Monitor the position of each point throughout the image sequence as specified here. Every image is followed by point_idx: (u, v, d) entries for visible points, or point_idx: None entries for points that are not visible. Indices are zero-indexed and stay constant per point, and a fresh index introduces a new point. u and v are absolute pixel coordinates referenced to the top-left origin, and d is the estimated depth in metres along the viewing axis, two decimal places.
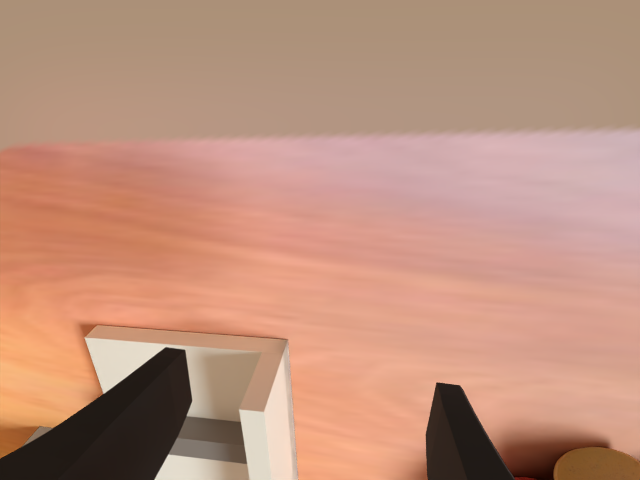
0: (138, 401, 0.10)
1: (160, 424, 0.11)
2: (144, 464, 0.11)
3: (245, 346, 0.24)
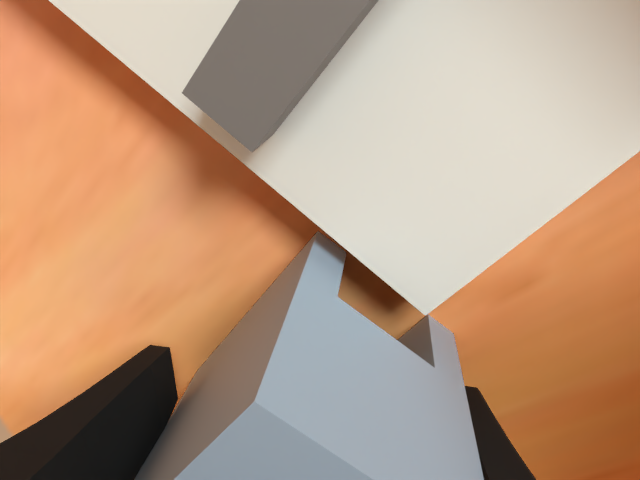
0: (119, 398, 0.10)
1: (143, 421, 0.11)
2: (126, 461, 0.11)
3: None
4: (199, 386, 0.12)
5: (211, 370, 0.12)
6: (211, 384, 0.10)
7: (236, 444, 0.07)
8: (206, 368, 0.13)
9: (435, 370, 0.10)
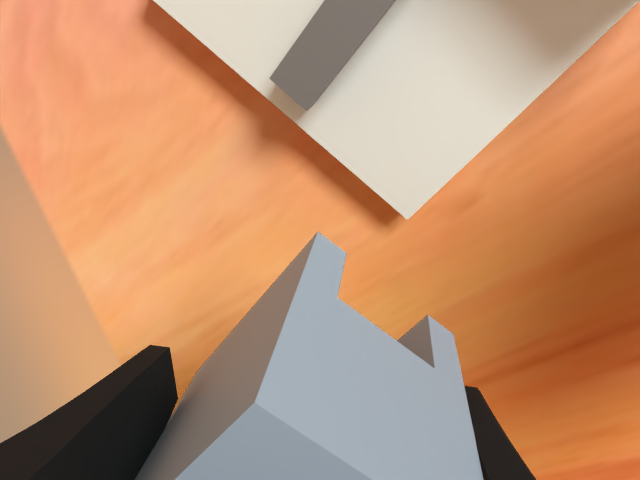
0: (119, 398, 0.10)
1: (143, 421, 0.11)
2: (126, 461, 0.11)
3: None
4: (199, 387, 0.12)
5: (211, 371, 0.12)
6: (211, 385, 0.10)
7: (236, 445, 0.07)
8: (206, 369, 0.13)
9: (435, 370, 0.10)
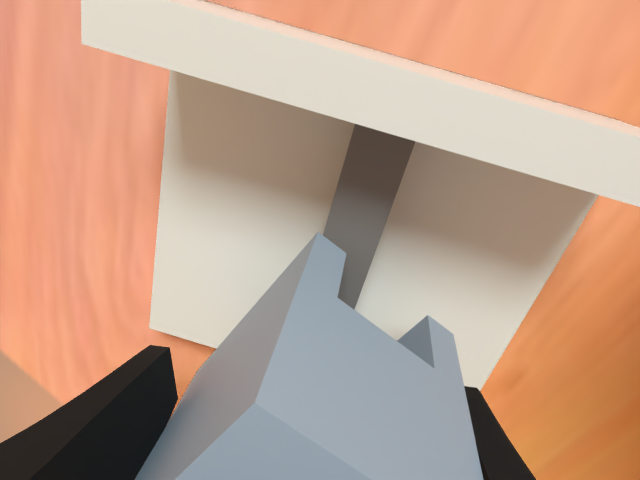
0: (119, 398, 0.10)
1: (143, 421, 0.11)
2: (126, 461, 0.11)
3: None
4: (199, 387, 0.12)
5: (211, 371, 0.12)
6: (211, 385, 0.10)
7: (236, 445, 0.07)
8: (206, 369, 0.13)
9: (435, 370, 0.10)
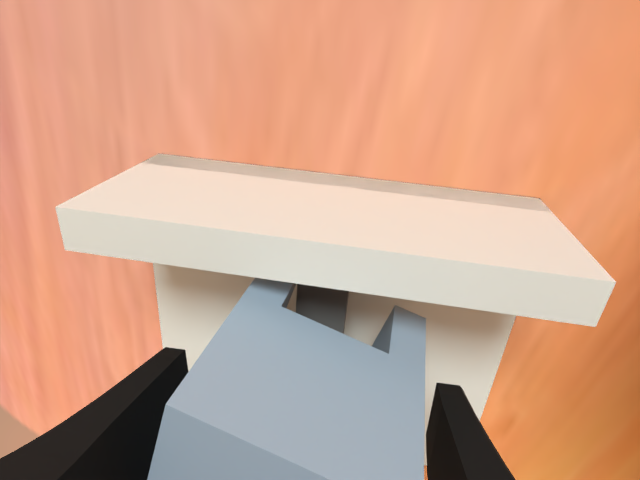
0: (138, 401, 0.10)
1: (160, 424, 0.11)
2: (144, 464, 0.11)
3: None
4: None
5: None
6: None
7: (171, 443, 0.08)
8: None
9: (390, 355, 0.11)
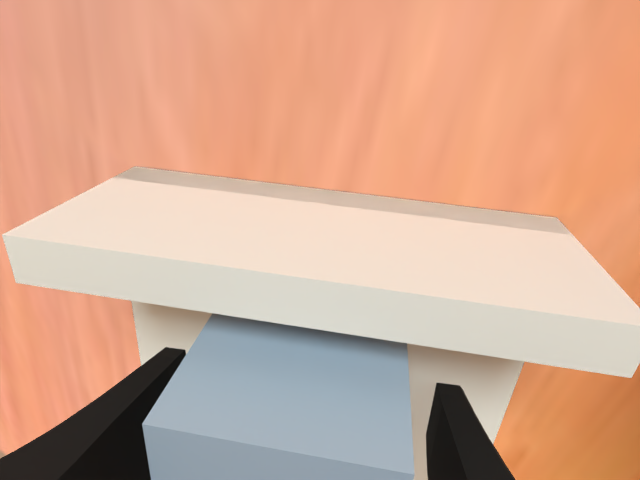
0: (138, 401, 0.10)
1: None
2: (144, 464, 0.11)
3: None
4: None
5: None
6: None
7: (162, 462, 0.08)
8: None
9: None
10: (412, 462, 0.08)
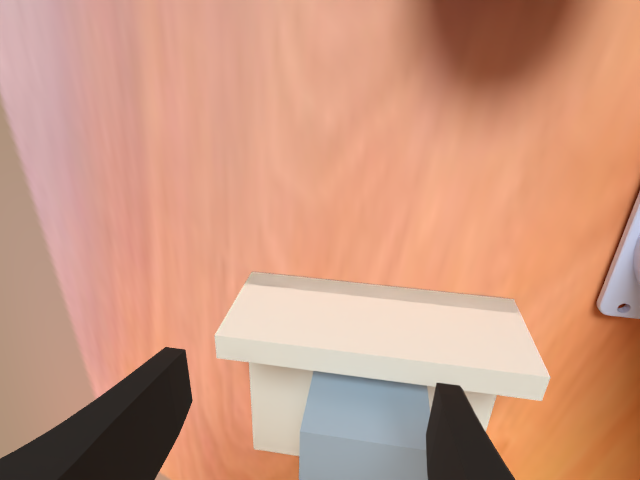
0: (138, 401, 0.10)
1: (160, 424, 0.11)
2: (144, 464, 0.11)
3: None
4: None
5: None
6: None
7: (307, 450, 0.16)
8: None
9: None
10: None
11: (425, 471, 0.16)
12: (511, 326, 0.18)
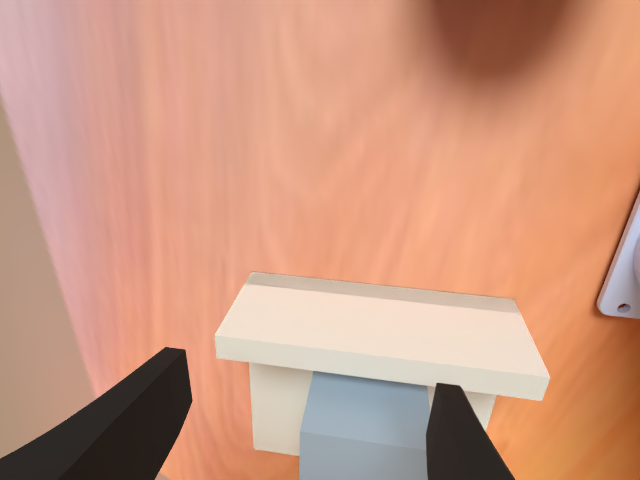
0: (138, 401, 0.10)
1: (160, 424, 0.11)
2: (144, 464, 0.11)
3: None
4: None
5: None
6: None
7: (307, 450, 0.16)
8: None
9: None
10: None
11: (425, 471, 0.16)
12: (511, 326, 0.18)
